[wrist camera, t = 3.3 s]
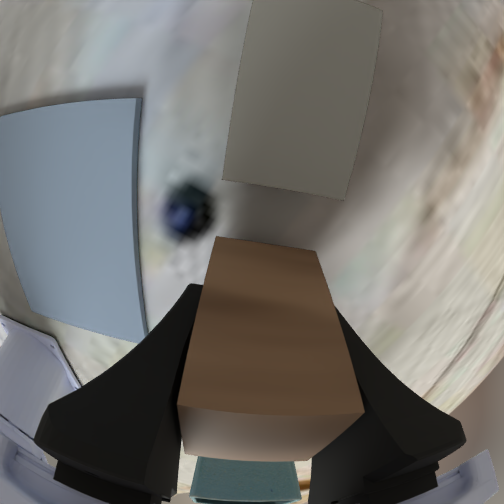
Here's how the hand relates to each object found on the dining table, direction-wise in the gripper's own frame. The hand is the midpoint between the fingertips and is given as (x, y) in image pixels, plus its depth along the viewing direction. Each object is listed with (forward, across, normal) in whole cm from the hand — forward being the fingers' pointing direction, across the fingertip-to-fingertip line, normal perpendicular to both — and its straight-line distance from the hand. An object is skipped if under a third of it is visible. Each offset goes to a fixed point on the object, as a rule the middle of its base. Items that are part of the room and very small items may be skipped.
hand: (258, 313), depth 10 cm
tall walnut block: (+2, 0, 0) cm, 2 cm away
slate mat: (+3, +11, 0) cm, 11 cm away
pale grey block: (+4, 0, -8) cm, 9 cm away
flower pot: (+4, -2, +20) cm, 20 cm away
